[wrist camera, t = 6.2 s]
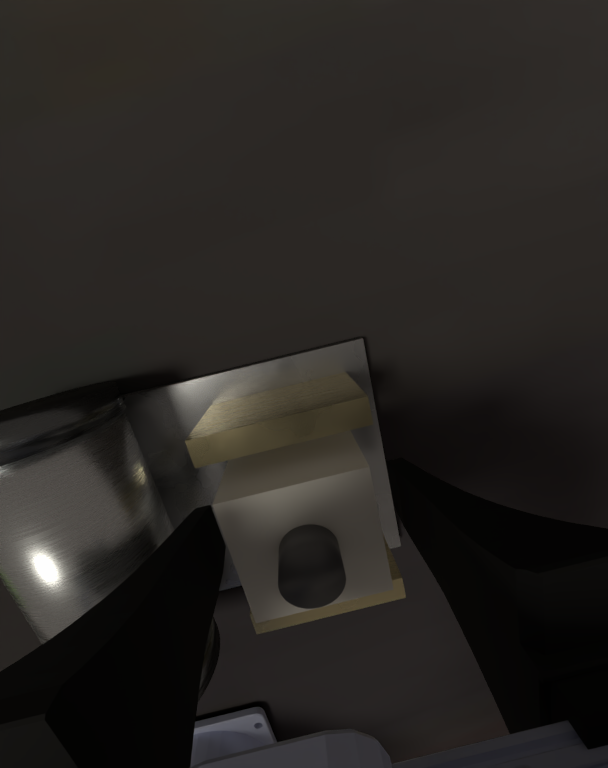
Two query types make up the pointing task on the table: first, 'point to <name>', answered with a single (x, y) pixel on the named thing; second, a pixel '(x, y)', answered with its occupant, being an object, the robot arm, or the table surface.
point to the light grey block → (303, 526)
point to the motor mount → (164, 475)
